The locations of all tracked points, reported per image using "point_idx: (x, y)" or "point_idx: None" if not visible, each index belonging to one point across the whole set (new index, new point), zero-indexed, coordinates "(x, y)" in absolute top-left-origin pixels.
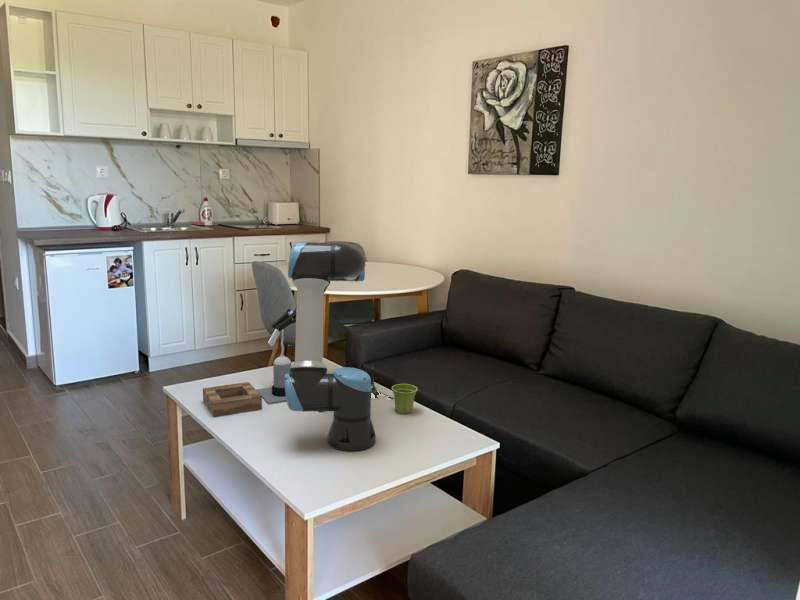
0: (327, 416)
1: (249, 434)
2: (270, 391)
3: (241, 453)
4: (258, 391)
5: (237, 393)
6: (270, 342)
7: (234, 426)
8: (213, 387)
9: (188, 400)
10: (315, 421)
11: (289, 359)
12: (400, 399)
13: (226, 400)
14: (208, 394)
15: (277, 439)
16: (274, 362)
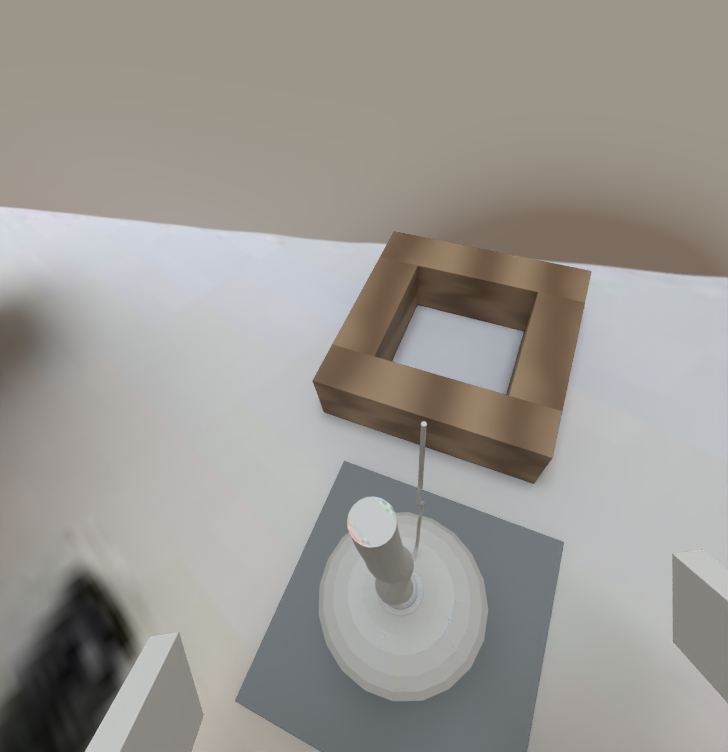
0: (21, 554)
1: (202, 278)
2: None
3: (145, 222)
4: (522, 530)
5: (507, 394)
6: (690, 588)
7: (282, 278)
8: (573, 301)
9: (615, 283)
10: (51, 477)
11: (364, 672)
12: None
13: (385, 269)
14: (498, 256)
15: (105, 308)
16: (426, 519)
